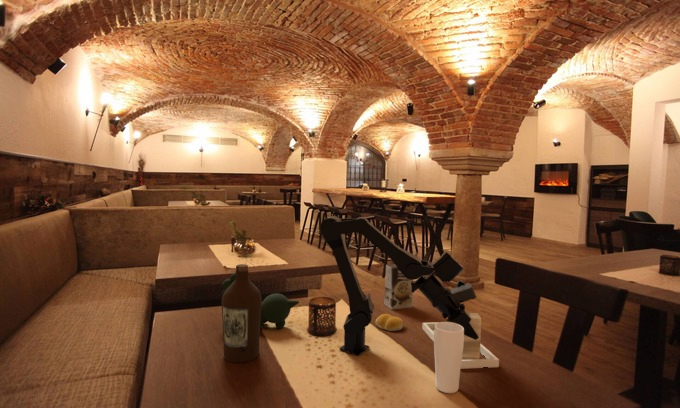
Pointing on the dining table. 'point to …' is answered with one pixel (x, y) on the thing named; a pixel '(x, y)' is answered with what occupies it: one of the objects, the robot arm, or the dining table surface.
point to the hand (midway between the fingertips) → (475, 335)
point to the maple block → (471, 345)
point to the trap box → (470, 363)
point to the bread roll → (389, 322)
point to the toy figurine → (270, 306)
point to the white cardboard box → (397, 289)
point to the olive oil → (241, 318)
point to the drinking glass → (448, 355)
